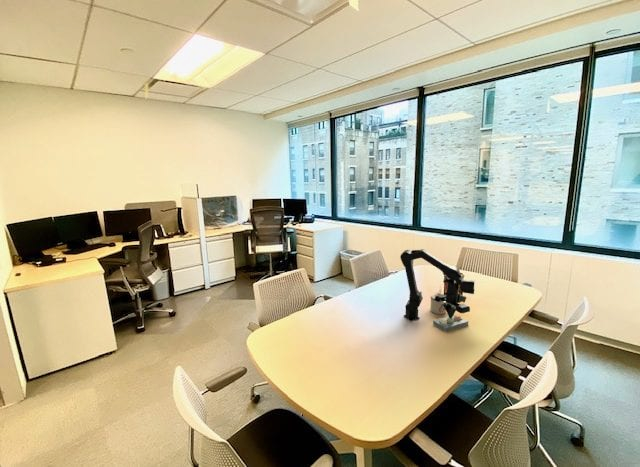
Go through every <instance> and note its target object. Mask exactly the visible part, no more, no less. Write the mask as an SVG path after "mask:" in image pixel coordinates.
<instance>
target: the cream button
mask: <svg viewBox="0 0 640 467" xmlns="http://www.w3.org/2000/svg"><path fill="white" fill-rule="evenodd" d="M440 323H441V324H443V325H446V324H447V320H446V319H441V322H440Z"/></svg>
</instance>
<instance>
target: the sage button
mask: <svg viewBox="0 0 640 467" xmlns="http://www.w3.org/2000/svg"><path fill="white" fill-rule="evenodd" d="M447 321H448V322H450V323H453V322H454V318H453V317H452V318H449V317H448V320H447Z"/></svg>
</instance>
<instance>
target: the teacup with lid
mask: <svg viewBox="0 0 640 467" xmlns="http://www.w3.org/2000/svg"><path fill="white" fill-rule="evenodd" d="M441 294H442V293H441V292H439V291H438V292H437V293H432V294H431V295H430V311H431V313H432V314H437V315H444V314H446V313H447V312H446V310H445V308H444V306H443V304H444V302H443V301H442V300H440V302H437V301H435V297H436V295H441Z"/></svg>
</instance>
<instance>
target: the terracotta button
mask: <svg viewBox="0 0 640 467" xmlns="http://www.w3.org/2000/svg"><path fill="white" fill-rule="evenodd" d="M454 315H455V316H454V319H455V320H456V321H460V320H461V318H462V316H461V315H459V314H454Z"/></svg>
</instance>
